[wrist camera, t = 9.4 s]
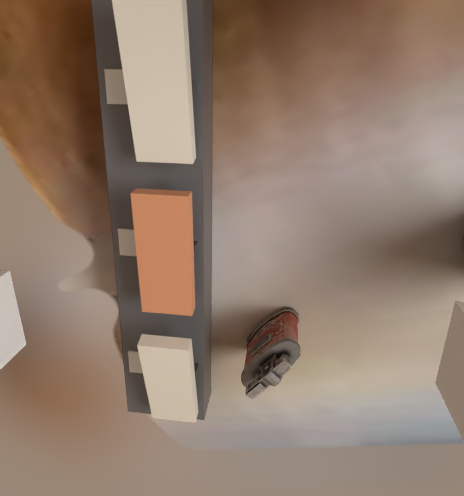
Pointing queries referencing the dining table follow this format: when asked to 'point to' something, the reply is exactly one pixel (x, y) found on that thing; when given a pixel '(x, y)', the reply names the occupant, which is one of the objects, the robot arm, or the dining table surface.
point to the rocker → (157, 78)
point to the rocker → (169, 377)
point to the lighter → (271, 351)
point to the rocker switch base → (163, 178)
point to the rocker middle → (164, 250)
